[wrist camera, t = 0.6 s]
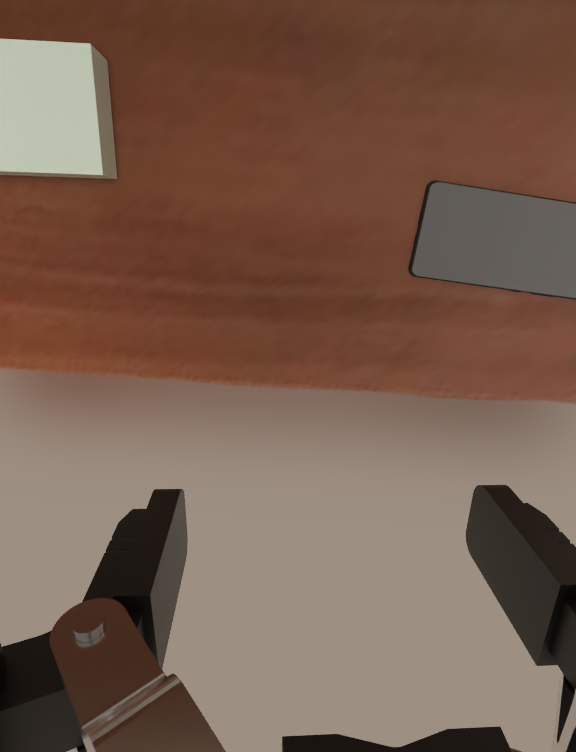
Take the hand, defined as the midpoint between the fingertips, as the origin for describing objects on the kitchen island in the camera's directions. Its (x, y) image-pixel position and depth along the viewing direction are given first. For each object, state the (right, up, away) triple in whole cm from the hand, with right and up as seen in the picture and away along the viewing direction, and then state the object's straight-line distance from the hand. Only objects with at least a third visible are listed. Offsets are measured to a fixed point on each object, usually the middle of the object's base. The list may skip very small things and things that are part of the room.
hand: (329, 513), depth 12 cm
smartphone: (+16, +14, +22) cm, 31 cm away
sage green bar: (-21, +21, +17) cm, 34 cm away
